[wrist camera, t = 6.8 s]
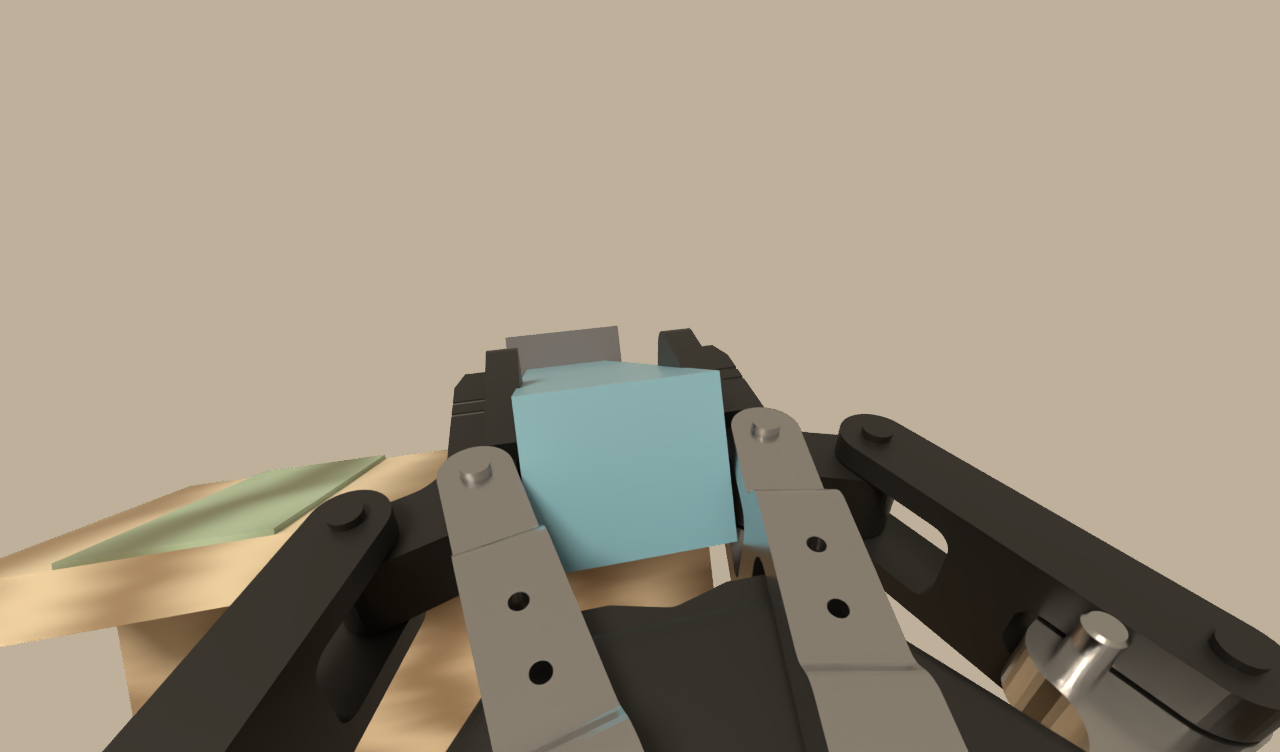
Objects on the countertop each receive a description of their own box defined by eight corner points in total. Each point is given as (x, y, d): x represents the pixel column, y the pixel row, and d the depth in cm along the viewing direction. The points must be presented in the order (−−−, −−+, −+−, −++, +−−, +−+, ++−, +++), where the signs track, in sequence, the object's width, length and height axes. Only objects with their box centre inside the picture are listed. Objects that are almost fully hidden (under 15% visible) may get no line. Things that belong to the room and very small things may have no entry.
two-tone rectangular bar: (487, 587, 9) (450, 307, 9) (521, 422, 30) (511, 341, 30) (778, 533, 10) (751, 278, 10) (611, 410, 31) (601, 331, 31)
